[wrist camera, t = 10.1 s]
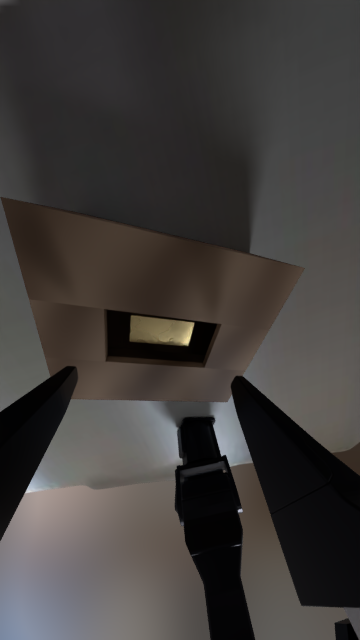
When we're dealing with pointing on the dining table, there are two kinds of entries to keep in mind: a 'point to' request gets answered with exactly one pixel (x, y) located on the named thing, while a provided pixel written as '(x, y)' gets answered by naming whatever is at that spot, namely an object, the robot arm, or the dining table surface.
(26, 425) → the robot arm
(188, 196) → the dining table surface
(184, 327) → the yellow square block
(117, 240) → the walnut box
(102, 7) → the dining table surface
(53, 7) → the dining table surface
